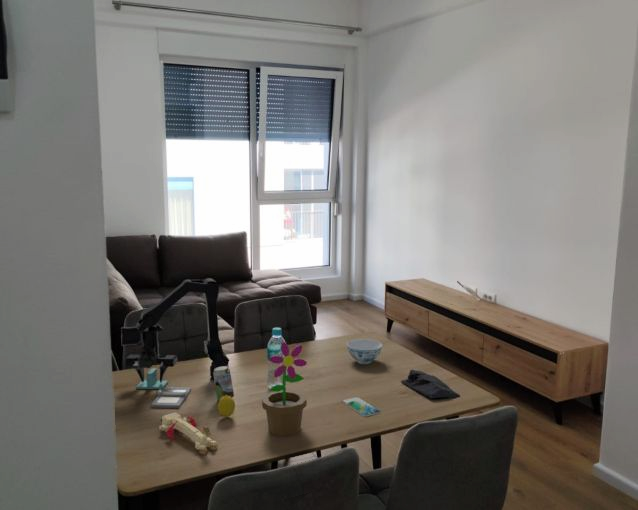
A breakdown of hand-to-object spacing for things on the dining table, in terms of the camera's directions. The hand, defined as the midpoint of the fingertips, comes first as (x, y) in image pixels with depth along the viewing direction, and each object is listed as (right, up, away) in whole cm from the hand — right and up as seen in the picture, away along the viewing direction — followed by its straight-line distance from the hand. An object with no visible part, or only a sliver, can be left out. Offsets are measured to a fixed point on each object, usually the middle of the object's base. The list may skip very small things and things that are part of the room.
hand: (152, 382), depth 219 cm
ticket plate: (+11, -3, -12) cm, 16 cm away
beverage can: (+30, -4, -12) cm, 32 cm away
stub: (0, -2, 0) cm, 2 cm away
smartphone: (+78, -5, -18) cm, 81 cm away
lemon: (+33, -6, -27) cm, 43 cm away
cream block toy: (+23, -9, -41) cm, 48 cm away
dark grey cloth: (+106, -3, -2) cm, 106 cm away
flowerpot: (+53, -7, -35) cm, 64 cm away
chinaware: (+83, +2, +28) cm, 88 cm away
